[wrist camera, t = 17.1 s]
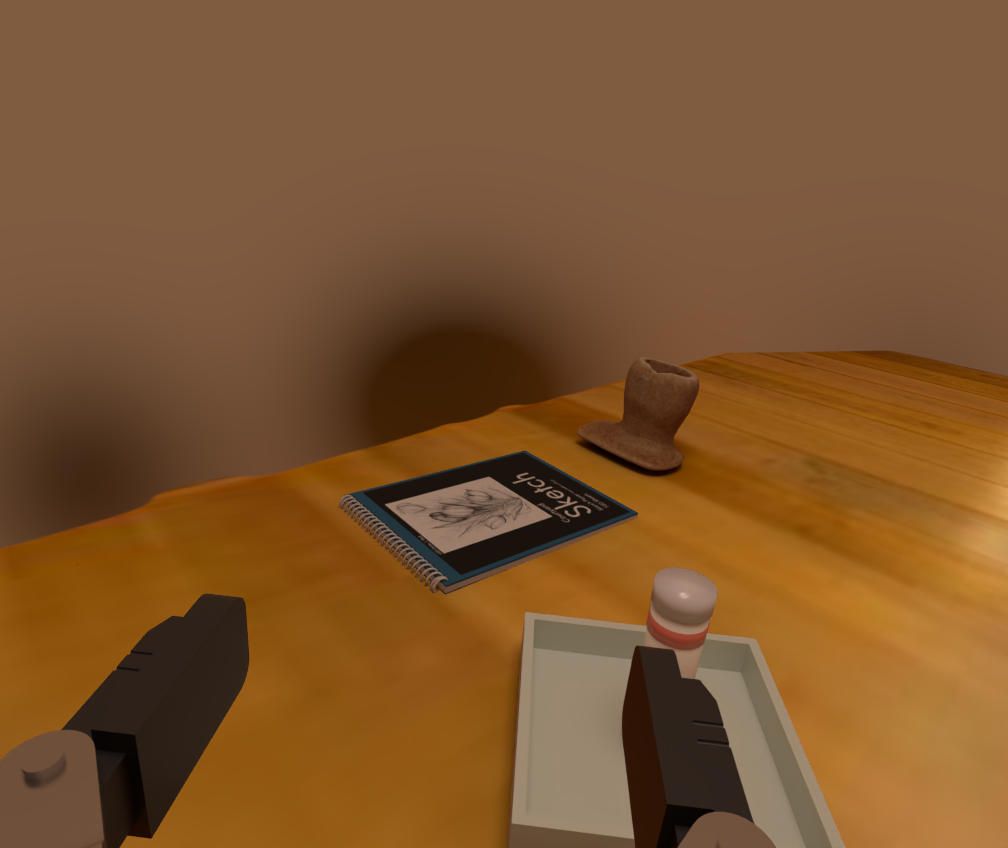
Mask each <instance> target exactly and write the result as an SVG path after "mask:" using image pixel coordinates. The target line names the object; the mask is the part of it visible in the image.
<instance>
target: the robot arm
mask: <svg viewBox="0 0 1008 848" xmlns="http://www.w3.org/2000/svg"><path fill="white" fill-rule="evenodd" d="M248 666H249V647H248V633H247V618H246V606H245V602H244V600H243V599H242V598H240V597H231V596H223V595H214V594H203V595H202V596H201V597H200V598H199V599H198V600H197V601H196V602H195V604H194V605H193V606H192V607H191V608H190V610H189V611H188V612H187V613H186V614H185V616H184V617H178V616H172V617H170V618H168V619H167V620H165V621H164V622H162V623H160V624H159V625H157V626H156V627H154V628H152V629H151V630H149V631H148V632H147V633H146V634H145V635H144V636H143V638H142V639H141V640H140V641H139V642H138V643H137V644H136V645H135V647H134V648H133V649H132V650H131V653H130V655H127V656H126V657H125V658H124V659H123V660H122V661H121V663H120V664H119V665H118V666H117V669H116V671H113V672H112V673H111V674H110V675H109V676H108V677H107V678H106V680H105V681H104V682H103V683H102V684H101V685H100V686H99V688H98V689H97V690H96V691H95V692H94V693H93V694H92V696H91V697H90V698H89V699H88V700H87V701H86V702H85V704H84V705H83V706H82V707H81V708H80V709H79V710H78V711H77V713H76V714H75V715H74V716H73V717H72V718H71V719H70V721H69V722H68V723H67V724H66V725H65V726H64V727H63V729H62V730H58V731H52V732H48V733H45V734H42V735H39V736H36V737H34V738H32V739H30V740H27V741H25V742H24V743H22V744H20V745H19V746H17V747H16V748H14V749H13V750H12V751H10V752H9V753H8V754H7V755H6V756H5V757H4V758H3V759H2V760H1V761H0V848H120V846H121V844H122V843H123V841H124V840H125V838H126V837H127V835H128V836H136V837H143V838H152V837H153V835H154V833H155V832H156V830H157V828H158V827H159V825H160V823H161V822H162V820H163V818H164V817H165V815H166V813H167V812H168V810H169V808H170V807H171V805H172V803H173V802H174V800H175V798H176V797H177V795H178V793H179V792H180V790H181V788H182V787H183V785H184V783H185V782H186V780H187V779H188V777H189V775H190V774H191V772H192V770H193V769H194V767H195V765H196V764H197V762H198V760H199V759H200V757H201V755H202V754H203V752H204V750H205V749H206V747H207V745H208V744H209V742H210V740H211V739H212V737H213V735H214V734H215V732H216V730H217V729H218V727H219V725H220V724H221V722H222V720H223V719H224V717H225V715H226V714H227V712H228V710H229V709H230V707H231V705H232V704H233V702H234V700H235V699H236V697H237V695H238V694H239V692H240V690H241V688H242V686H243V684H244V682H245V679H246V675H247V671H248ZM723 725H724V723H723V720H722V717H721V714H720V710H719V707H718V704H717V701H716V699H715V698H714V697H713V696H712V694H711V693H710V692H709V691H708V689H707V688H706V687H705V686H704V684H703V683H702V682H701V680H698V679H689V678H682V677H681V673H680V669H679V665H678V661H677V657H676V653H675V651H674V650H672V649H664V648H655V647H647V646H638V645H637V646H636V647H635V649H634V653H633V657H632V662H631V667H630V673H629V678H628V683H627V688H626V693H625V698H624V703H623V711H622V740H623V749H624V757H625V765H626V774H627V782H628V791H629V799H630V807H631V816H632V824H633V832H634V841H635V848H776V846H775V845H774V843H773V842H772V841H771V839H770V838H769V837H768V836H767V835H766V834H765V833H764V832H763V831H762V830H761V829H760V828H759V827H757V826H756V825H755V824H754V821H753V818H752V815H751V812H750V809H749V805H748V802H747V799H746V795H745V792H744V789H743V786H742V782H741V779H740V776H739V773H738V769H737V766H736V763H735V759H734V756H733V753H732V750H731V748H730V747H729V740H728V736H727V733H726V730H725V728H724V727H723Z"/></svg>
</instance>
